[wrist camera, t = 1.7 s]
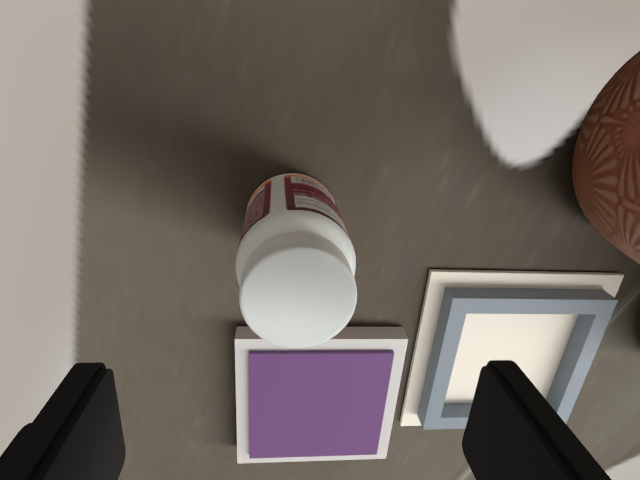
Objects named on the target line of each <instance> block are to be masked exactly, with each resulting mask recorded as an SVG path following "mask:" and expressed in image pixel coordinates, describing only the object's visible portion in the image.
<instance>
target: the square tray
mask: <svg viewBox="0 0 640 480" xmlns="http://www.w3.org/2000/svg"><path fill="white" fill-rule="evenodd" d="M623 277H624V275H623V274H621V273H601V272H548V271H494V270H441V269H430V270H429V275H428V281H427V286H426V291H425V296H424V301H423V306H422V311H421V316H420V321H419V326H418V331H417V336H416V342H415V347H414V352H413V357H412V362H411V367H410V372H409V377H408V382H407V387H406V392H405V398H404V403H403V408H402V413H401V418H400V425H401V426H422V429H423V430H426V429H465V428H466V424H467V421H468V417H469V413H470V409H471V405H472V402H473V398H474V394H475V390H476V386H477V383H478V379H479V375H480V371H481V369H482V367H483V366H486V365H487V363H488V362H489V361H491V360H512V361H514V362H515V363H516V364H517V365H518V366H519V367H520V369H521V370H522V371H523V372H524V373H525V375H526V376H527V377H528V378H529V380H530V381H531V382H532V383H533V384H534V386H535V387H536V388H537V389H538V391H539V392H540V393H541V394H542V395H543V397H544V398H545V399H546V400H547V402H548V403H549V404H550V405H551V407H552V408H553V409H554V410H555V411H556V413H557V414H558V415H559V416H560V418H561V419H562V420H563V421H564V422H565V424H566V423H567V420H568V418H569V416H570V413H571V411H572V409H573V406H574V404H575V401H576V399H577V397H578V394H579V392H580V390H581V387H582V385H583V382H584V380H585V378H586V375H587V373H588V371H589V368H590V366H591V363H592V361H593V359H594V356H595V354H596V352H597V349H598V347H599V344H600V342H601V340H602V337H603V335H604V333H605V330H606V328H607V325H608V323H609V321H610V318H611V316H612V314H613V311H614V309H615V306H616V304H617V302H618V300H617V299H616V298H615V296H616V294H617V291H618V289H619V287H620V284H621V282H622V279H623Z"/></svg>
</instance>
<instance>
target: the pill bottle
mask: <svg viewBox="0 0 640 480" xmlns="http://www.w3.org/2000/svg"><path fill="white" fill-rule="evenodd" d="M235 268H236V275H237V280H238V283H239V286H240V293H239V303H240V309H241V312H242V315H243V317H244V319H245V321H246V323H247V325H248V326H249V327H250V328H251V330H252V331H253V332H254V333H256V334H257V335H258V336H259V337H261V338H262V339H264V340H265V341H267V342H269V343H272V344H275V345H278V346H281V347H287V348H305V347H311V346H314V345H318V344H320V343H323V342H325V341H327V340H329V339H331V338H332V337H334V336H335V335H337V334H338V333H339V332H340V331H341V330H342V329H343V328H344V327H345V326H346V325H347V323H348V322H349V320H350V319H351V317H352V315H353V313H354V310H355V306H356V302H357V288H356V283H355V279H354V275H355V268H356V257H355V252H354V247H353V244H352V242H351V240H350V238H349V236H348V233H347V231H346V228H345V226H344V224H343V221H342V218H341V216H340V214H339V211H338V208H337V206H336V204H335V201H334V199H333V197H332V195H331V194H330V192H329V191H328V190H327V188H326V187H325V186H324V185H322V184H321V183H320V182H319V181H317V180H316V179H314V178H312V177H310V176H307V175H303V174H297V173H287V174H281V175H278V176H274V177H272V178H270V179H268V180H267V181H265V182H264V183H263V184H261V185H260V186H259V187H258V188H257V189H256V190H255V192H254V193H253V195H252V197H251V198H250V201H249V203H248V206H247V210H246V214H245V220H244V224H243V229H242V232H241V238H240V242H239V245H238V249H237V254H236V262H235Z"/></svg>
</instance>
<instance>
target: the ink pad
mask: <svg viewBox="0 0 640 480" xmlns="http://www.w3.org/2000/svg"><path fill="white" fill-rule="evenodd" d="M407 343H408V338H407V335H406V333H405V331H404V329H403V327H344V328H343V329H342V330H341V331H340V332H339V333H338V334H337V335H335V336H334V337H332V338H331V339H329V340H327V341H325V342H323V343H320V344H318V345H314V346H311V347H305V348H287V347H281V346H278V345H275V344H272V343H269V342H267V341H265V340H264V339H262V338H261V337H259V336H258V335H257V334H256V333H254V332H253V331H252V330H251V328H250V327H249V326H237V328H236V334H235V378H236V422H237V463H264V462H295V461H326V460H357V459H386V455H387V450H388V444H389V439H390V434H391V428H392V423H393V418H394V412H395V407H396V402H397V396H398V391H399V386H400V380H401V375H402V370H403V364H404V359H405V354H406V348H407Z"/></svg>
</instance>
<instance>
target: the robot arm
mask: <svg viewBox="0 0 640 480" xmlns="http://www.w3.org/2000/svg"><path fill="white" fill-rule="evenodd" d="M462 448H463V452H464V455H465V458H466V460H467V462H468V464H469V466H470V468H471V470H472V472H473V474H474V476H475V478H476V480H611V479H610V477H609V476H608V475H607V474H606V473H605V471H604V470H603V469H602V468H601V466H600V465H599V464H598V463H597V462H596V460H595V459H594V458H593V457H592V455H591V454H590V453H589V452H588V451H587V449H586V448H585V447H584V446H583V444H582V443H581V442H580V441H579V440H578V438H577V437H576V436H575V435H574V433H573V432H572V431H571V430H570V429H569V427H568V426H567V425H566V424H565V422H564V421H563V420H562V419H561V418H560V416H559V415H558V414H557V413H556V411H555V410H554V409H553V408H552V407H551V405H550V404H549V403H548V402H547V400H546V399H545V398H544V397H543V395H542V394H541V393H540V392H539V391H538V389H537V388H536V387H535V386H534V384H533V383H532V382H531V381H530V380H529V378H528V377H527V376H526V375H525V373H524V372H523V371H522V370H521V369H520V367H519V366H518V365H517V364H516V363H515V362H514V361H512V360H491V361H489V362H488V363H487V365H486V366H483V367H482V369H481V371H480V375H479V379H478V383H477V386H476V390H475V394H474V398H473V402H472V405H471V409H470V413H469V417H468V421H467V424H466V428H465V432H464V436H463V440H462ZM124 460H125V444H124V438H123V432H122V425H121V419H120V413H119V406H118V400H117V394H116V387H115V381H114V375H113V371H112V369H106V367H105V365H104V363H76V364H75V365H74V366H73V367H72V368H71V370H70V371H69V372H68V374H67V375H66V377H65V378H64V379H63V381H62V382H61V384H60V385H59V386H58V388H57V389H56V391H55V392H54V393H53V395H52V396H51V397H50V399H49V400H48V402H47V403H46V405H45V406H44V407H43V409H42V410H41V411H40V413H39V414H38V416H37V417H36V418H35V420H34V421H33V422H32V423H29V424H27V425H26V426H24V427H23V428H22V429H21V430H20V431H19V432H18V434H17V435H16V436H15V438H14V439H13V441H12V442H11V443H10V444H9V446H8V447H7V449H6V450H5V451H4V453H3V454H2V455H1V457H0V480H118V477H119V475H120V472H121V470H122V467H123V464H124Z"/></svg>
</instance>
